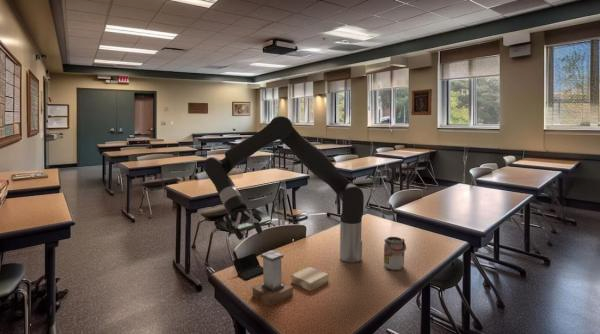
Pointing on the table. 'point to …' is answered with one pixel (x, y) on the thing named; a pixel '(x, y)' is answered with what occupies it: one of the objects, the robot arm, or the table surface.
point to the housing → (272, 271)
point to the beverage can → (394, 253)
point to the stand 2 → (309, 278)
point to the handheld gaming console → (248, 267)
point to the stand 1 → (272, 294)
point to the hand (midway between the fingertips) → (251, 235)
